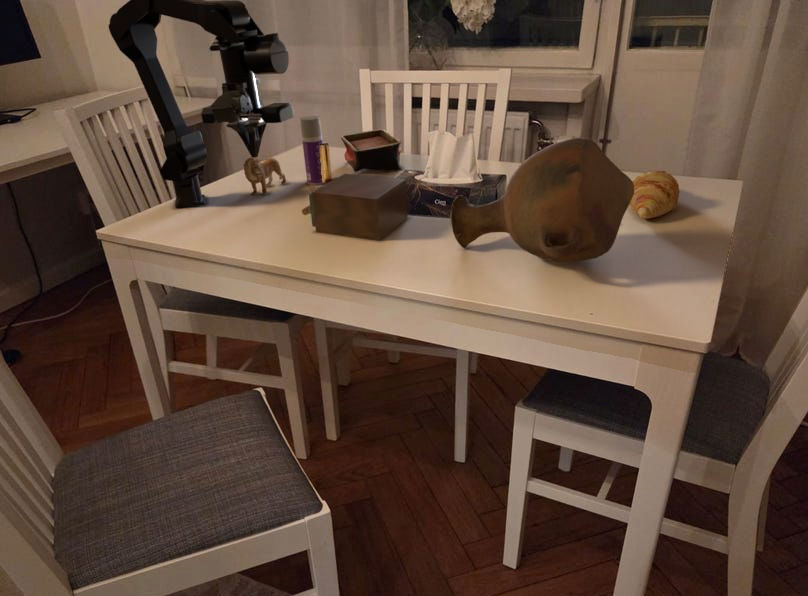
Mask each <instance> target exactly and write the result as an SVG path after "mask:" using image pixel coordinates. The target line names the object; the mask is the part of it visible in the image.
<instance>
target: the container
mask: <svg viewBox="0 0 808 596" xmlns="http://www.w3.org/2000/svg"><path fill="white" fill-rule="evenodd" d="M300 130H301V141H302V151H303V158H304V167H305V168H304V169H305V174H306V175H305V176H306V184H307V185H309V186H320V185H325V183H323V182H322V180H321V179H322V175H321V162H320V153H319V145H320V144H323V145H324V143H323V135H322V127H321V117H320V116H319V115H307V116H302V117H300Z"/></svg>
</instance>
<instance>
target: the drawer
mask: <svg viewBox="0 0 808 596" xmlns="http://www.w3.org/2000/svg"><path fill="white" fill-rule="evenodd" d="M308 201H309V205H307V206H305V207H304V208H302V209H301V213H302V215H303V216H308V215H310V218H311V226H312V227H315V228H316V226H315V217H314V208H313V199H312V192H310V193H308Z"/></svg>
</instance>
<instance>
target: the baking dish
mask: <svg viewBox="0 0 808 596" xmlns="http://www.w3.org/2000/svg"><path fill="white" fill-rule="evenodd" d="M340 139H341V141H342V143H343V144H344V147H345V150H346V151H345V152H344V153H343V154H344V155H343V156H344V160H345V161H346V164H349V165H350V166H351V169H352V170H353V171H354V173H358V172H360V171H363V170H372V171H373V170H374V171H385V172H393V171H402V167H401V165H400V158H401V157H400V156H401V152H402V149H401V147H400V146H401V144H402V141H401V140H400V139H397V138H396V137H395V136H393V135H391V134H390V133H389V132H388V131H387V130H385V129H381V128H380V129H372V130H365V131H359V132H353V133H348V134H343V135H341V137H340Z"/></svg>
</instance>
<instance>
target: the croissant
mask: <svg viewBox="0 0 808 596" xmlns="http://www.w3.org/2000/svg"><path fill="white" fill-rule="evenodd" d="M631 180H632V182H633V184H634V194H633V197H632V199H631V201H630V204H629V206H630V207H631V208H632V209H633V211H634V212H635V213H637V214H638V217H640V218H641V219H645V220H646V219H648V220H649V219H653V218H658V217H662V215H665V214H667V213H669V212H671V211H674V210H675V209H677V206H678V203H679V198H680V185H679V183H678V180H677V179H676V178H675V177H674V176H673V175H672V174H670V173H668V172H666V171H665V170H653V171H649V172H645V173H642V174H640V175H638V176H636V177H635V178H632V179H631Z"/></svg>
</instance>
